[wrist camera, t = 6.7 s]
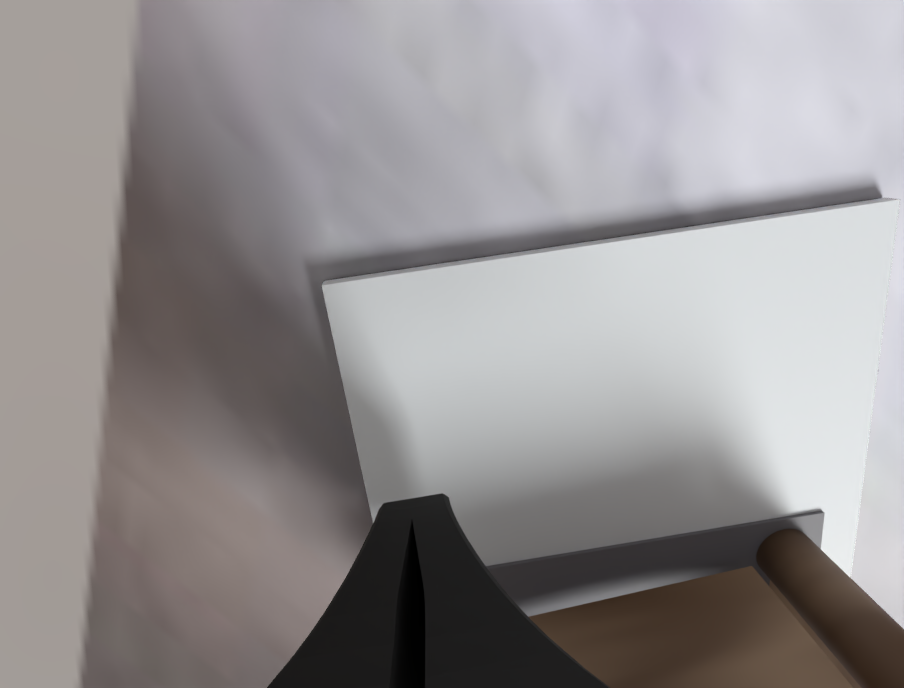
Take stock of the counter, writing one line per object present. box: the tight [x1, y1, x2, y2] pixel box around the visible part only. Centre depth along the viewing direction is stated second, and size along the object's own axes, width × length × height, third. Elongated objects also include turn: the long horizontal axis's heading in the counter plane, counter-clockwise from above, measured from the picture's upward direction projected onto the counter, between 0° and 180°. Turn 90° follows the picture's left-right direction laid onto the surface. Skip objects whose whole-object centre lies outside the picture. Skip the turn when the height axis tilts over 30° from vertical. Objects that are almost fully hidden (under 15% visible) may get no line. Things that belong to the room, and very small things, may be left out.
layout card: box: [322, 198, 900, 617], centre depth 15 cm, size 17×12×1 cm
